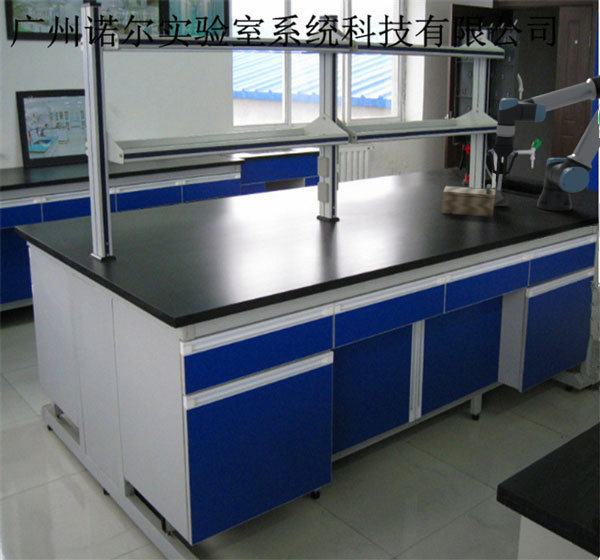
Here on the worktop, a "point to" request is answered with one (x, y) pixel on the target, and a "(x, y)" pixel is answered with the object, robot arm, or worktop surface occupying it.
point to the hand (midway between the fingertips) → (498, 189)
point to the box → (468, 203)
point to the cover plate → (471, 190)
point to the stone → (500, 198)
